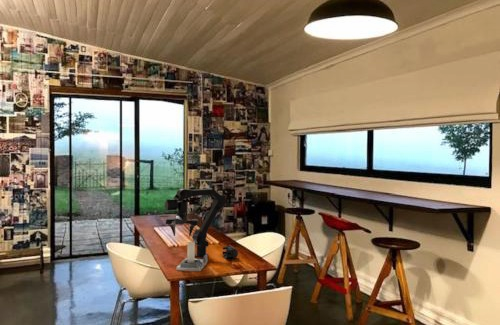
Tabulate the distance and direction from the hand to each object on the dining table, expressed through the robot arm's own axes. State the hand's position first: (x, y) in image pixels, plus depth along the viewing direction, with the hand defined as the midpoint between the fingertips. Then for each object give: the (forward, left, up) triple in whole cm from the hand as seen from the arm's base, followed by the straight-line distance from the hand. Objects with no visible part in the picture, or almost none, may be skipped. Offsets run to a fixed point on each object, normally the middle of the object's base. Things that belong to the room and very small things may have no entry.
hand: (182, 236), depth 242 cm
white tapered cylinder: (+17, +15, -13) cm, 26 cm away
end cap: (-12, +26, -13) cm, 32 cm away
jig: (+12, +13, -13) cm, 22 cm away
